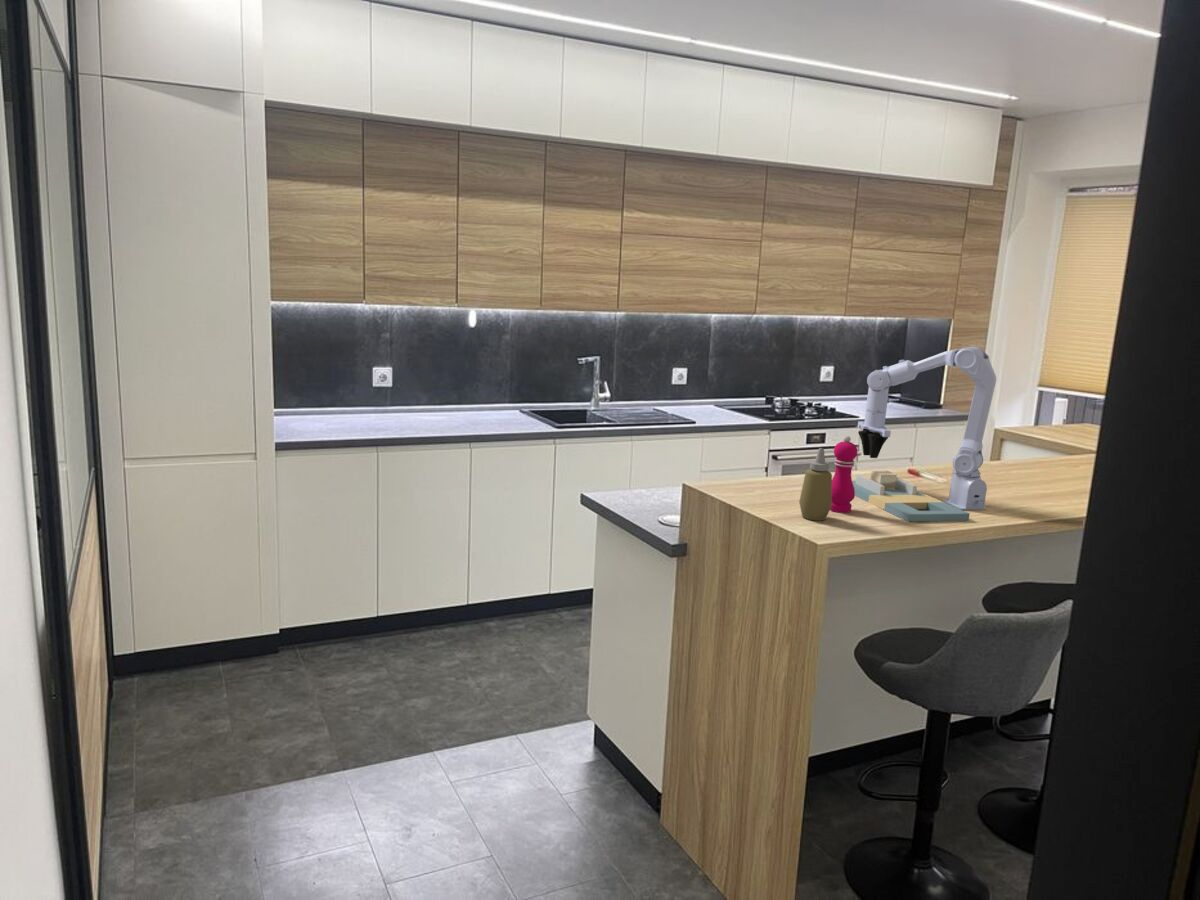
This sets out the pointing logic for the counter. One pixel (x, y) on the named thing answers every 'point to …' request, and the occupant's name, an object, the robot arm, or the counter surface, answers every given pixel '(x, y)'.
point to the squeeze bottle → (817, 489)
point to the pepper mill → (843, 476)
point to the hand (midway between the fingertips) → (870, 456)
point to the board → (906, 501)
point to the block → (884, 478)
